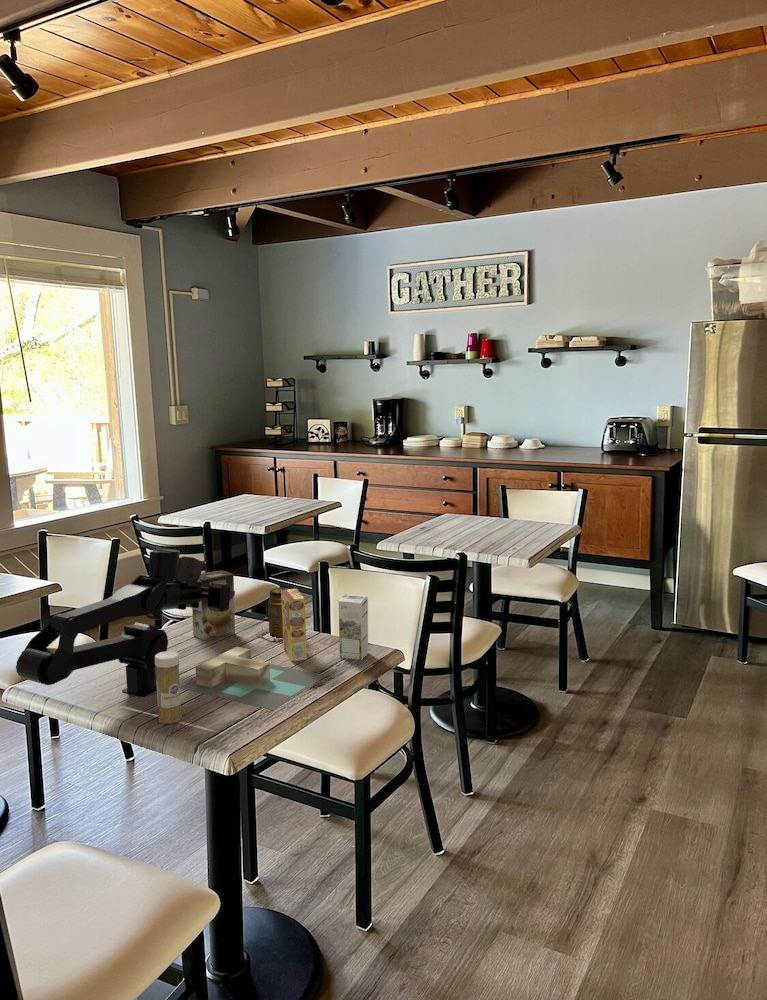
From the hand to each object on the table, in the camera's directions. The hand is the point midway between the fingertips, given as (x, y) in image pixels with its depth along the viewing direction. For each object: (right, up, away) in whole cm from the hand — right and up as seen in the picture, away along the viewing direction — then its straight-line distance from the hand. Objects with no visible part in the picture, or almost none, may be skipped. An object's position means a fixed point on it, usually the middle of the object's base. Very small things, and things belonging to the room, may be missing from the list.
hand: (219, 591), depth 185 cm
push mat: (+11, -18, -16) cm, 27 cm away
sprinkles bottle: (-3, -21, -33) cm, 39 cm away
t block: (+8, -18, -14) cm, 24 cm away
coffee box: (-5, -13, +16) cm, 21 cm away
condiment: (+12, -13, +15) cm, 24 cm away
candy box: (+18, -16, +1) cm, 24 cm away
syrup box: (+32, -16, 0) cm, 36 cm away
